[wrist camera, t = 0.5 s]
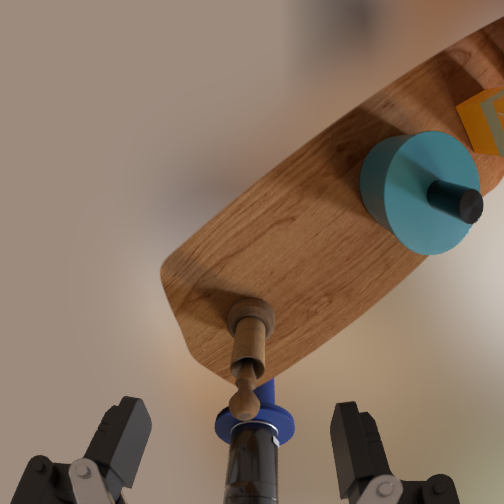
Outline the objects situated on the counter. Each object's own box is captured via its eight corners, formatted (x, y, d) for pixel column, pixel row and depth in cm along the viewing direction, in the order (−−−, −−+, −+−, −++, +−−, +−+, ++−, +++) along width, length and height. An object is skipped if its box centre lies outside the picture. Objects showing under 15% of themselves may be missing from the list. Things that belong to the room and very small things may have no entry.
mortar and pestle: (266, 291, 39) (266, 388, 22) (280, 328, 41) (287, 427, 24) (221, 305, 40) (196, 401, 23) (238, 340, 42) (225, 437, 25)
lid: (488, 202, 26) (526, 216, 19) (419, 274, 29) (450, 304, 22) (436, 108, 23) (476, 102, 16) (354, 184, 26) (382, 195, 20)
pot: (452, 190, 33) (488, 202, 25) (394, 247, 36) (422, 272, 28) (405, 117, 30) (439, 112, 22) (339, 177, 34) (361, 185, 26)
